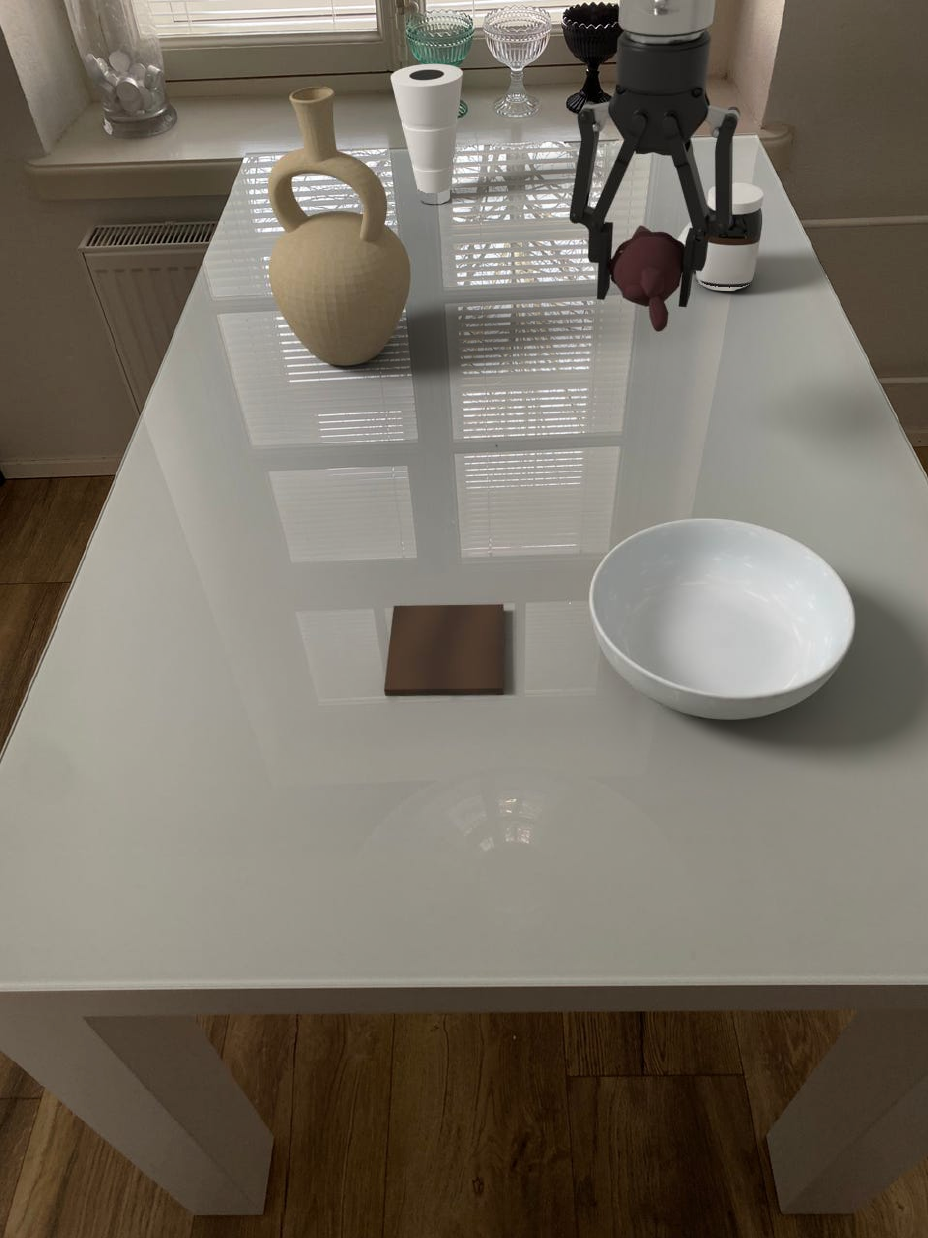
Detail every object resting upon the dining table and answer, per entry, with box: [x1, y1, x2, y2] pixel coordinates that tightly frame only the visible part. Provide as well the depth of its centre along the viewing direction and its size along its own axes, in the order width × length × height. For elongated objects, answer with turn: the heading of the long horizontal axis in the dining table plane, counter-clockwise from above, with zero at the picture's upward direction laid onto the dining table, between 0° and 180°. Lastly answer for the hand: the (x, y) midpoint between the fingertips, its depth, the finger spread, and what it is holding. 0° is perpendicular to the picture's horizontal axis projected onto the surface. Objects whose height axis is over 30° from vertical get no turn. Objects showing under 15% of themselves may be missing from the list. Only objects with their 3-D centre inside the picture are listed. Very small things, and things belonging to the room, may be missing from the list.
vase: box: [267, 86, 412, 367], centre depth 110 cm, size 17×17×30 cm
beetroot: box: [608, 225, 685, 333], centre depth 92 cm, size 7×7×15 cm
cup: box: [390, 63, 464, 193], centre depth 147 cm, size 11×11×18 cm
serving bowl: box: [588, 517, 856, 720], centre depth 80 cm, size 21×21×7 cm
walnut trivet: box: [383, 603, 505, 696], centre depth 84 cm, size 10×10×1 cm
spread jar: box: [677, 181, 765, 288], centre depth 126 cm, size 12×11×12 cm
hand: (643, 296), depth 94 cm, fingers closed on beetroot, 7 cm apart
